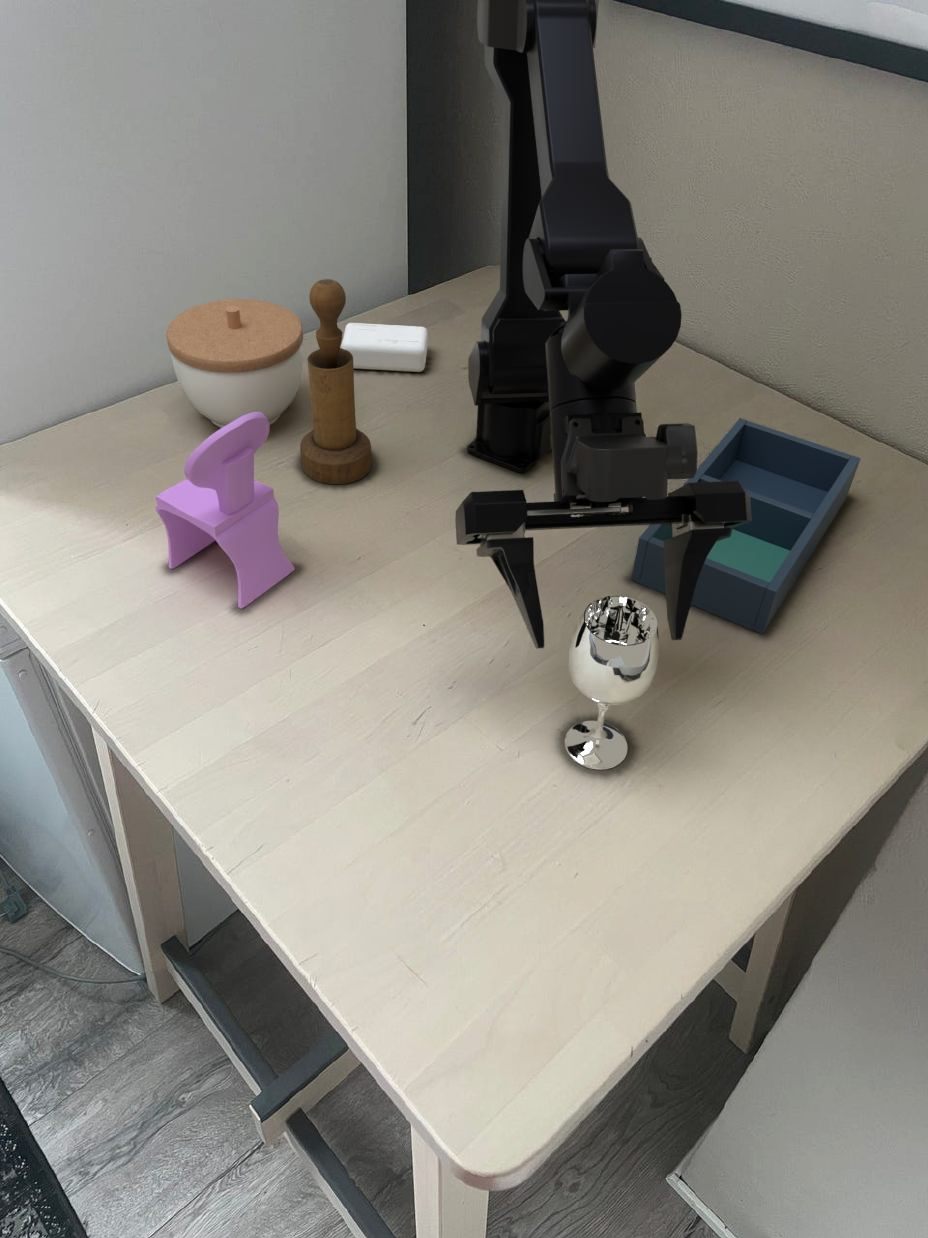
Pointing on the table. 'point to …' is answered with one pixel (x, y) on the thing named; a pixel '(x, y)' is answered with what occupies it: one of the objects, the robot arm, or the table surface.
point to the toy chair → (228, 508)
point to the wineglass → (610, 673)
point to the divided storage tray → (759, 522)
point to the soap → (386, 346)
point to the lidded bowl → (237, 358)
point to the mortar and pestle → (332, 399)
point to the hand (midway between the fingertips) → (608, 644)
